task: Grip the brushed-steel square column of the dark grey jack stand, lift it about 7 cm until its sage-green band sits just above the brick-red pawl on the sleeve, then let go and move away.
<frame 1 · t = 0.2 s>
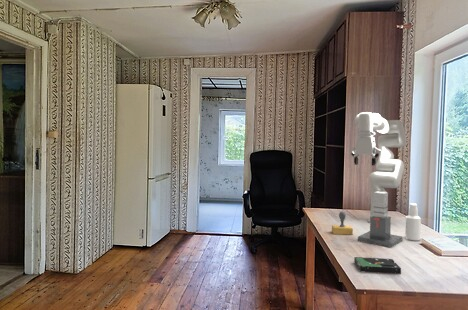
hand: (364, 165, 185), 37 cm above the table, tool pointing down, fingers open, 9 cm apart
disk drive: (376, 269, 128), on the table
rubber stamp: (342, 233, 179), on the table
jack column: (380, 214, 165), point 13 cm above the table, slide at 0.0 cm
jack stand base: (380, 240, 165), on the table
spray bottle: (412, 239, 168), on the table
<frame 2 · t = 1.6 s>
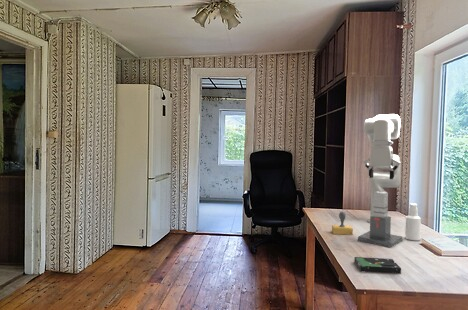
hand: (381, 178, 164), 31 cm above the table, tool pointing down, fingers open, 9 cm apart
nothing on the table moved.
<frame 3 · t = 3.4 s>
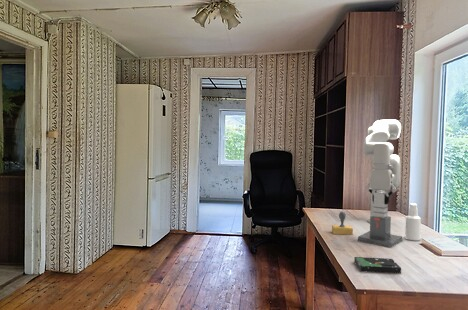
hand: (380, 203, 164), 19 cm above the table, tool pointing down, fingers closed on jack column, 5 cm apart
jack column: (380, 214, 165), point 13 cm above the table, slide at 0.0 cm, touching gripper
everything else where it was.
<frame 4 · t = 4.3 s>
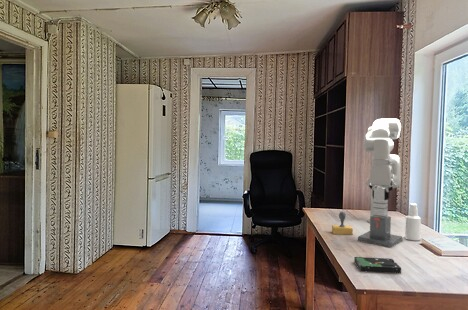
hand: (380, 198, 164), 21 cm above the table, tool pointing down, fingers closed on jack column, 5 cm apart
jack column: (380, 209, 164), point 15 cm above the table, slide at 2.2 cm, touching gripper
everything else where it was.
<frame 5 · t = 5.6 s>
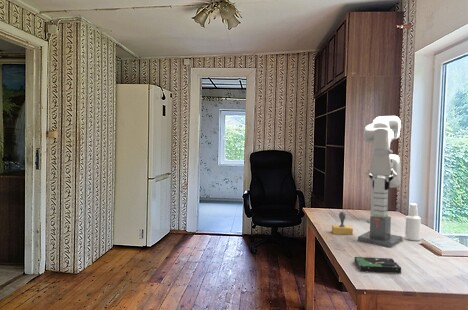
hand: (380, 188, 164), 26 cm above the table, tool pointing down, fingers closed on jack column, 5 cm apart
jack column: (380, 199, 164), point 20 cm above the table, slide at 7.2 cm, touching gripper
everything else where it was.
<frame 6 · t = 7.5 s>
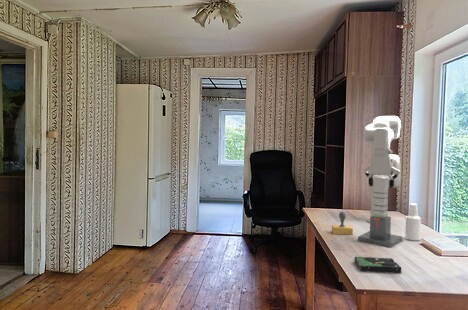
hand: (381, 186, 164), 27 cm above the table, tool pointing down, fingers open, 9 cm apart
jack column: (380, 199, 164), point 21 cm above the table, slide at 7.2 cm
everything else where it was.
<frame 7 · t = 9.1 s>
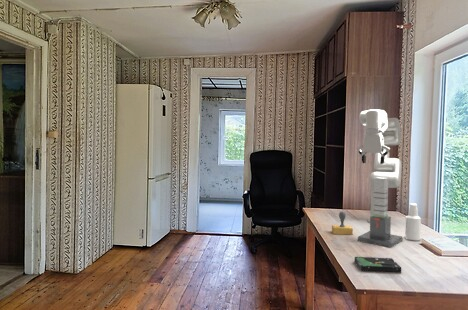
hand: (372, 163, 181), 38 cm above the table, tool pointing down, fingers open, 9 cm apart
nothing on the table moved.
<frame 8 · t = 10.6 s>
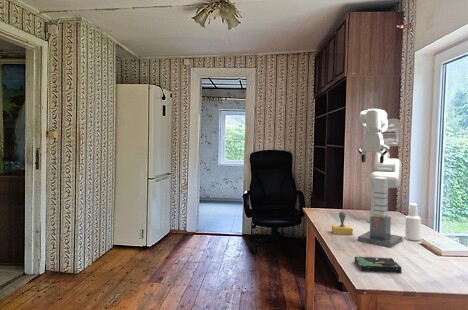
hand: (372, 162, 182), 38 cm above the table, tool pointing down, fingers open, 9 cm apart
nothing on the table moved.
at the end: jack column slide at 7.2 cm; the gripper is holding nothing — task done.
